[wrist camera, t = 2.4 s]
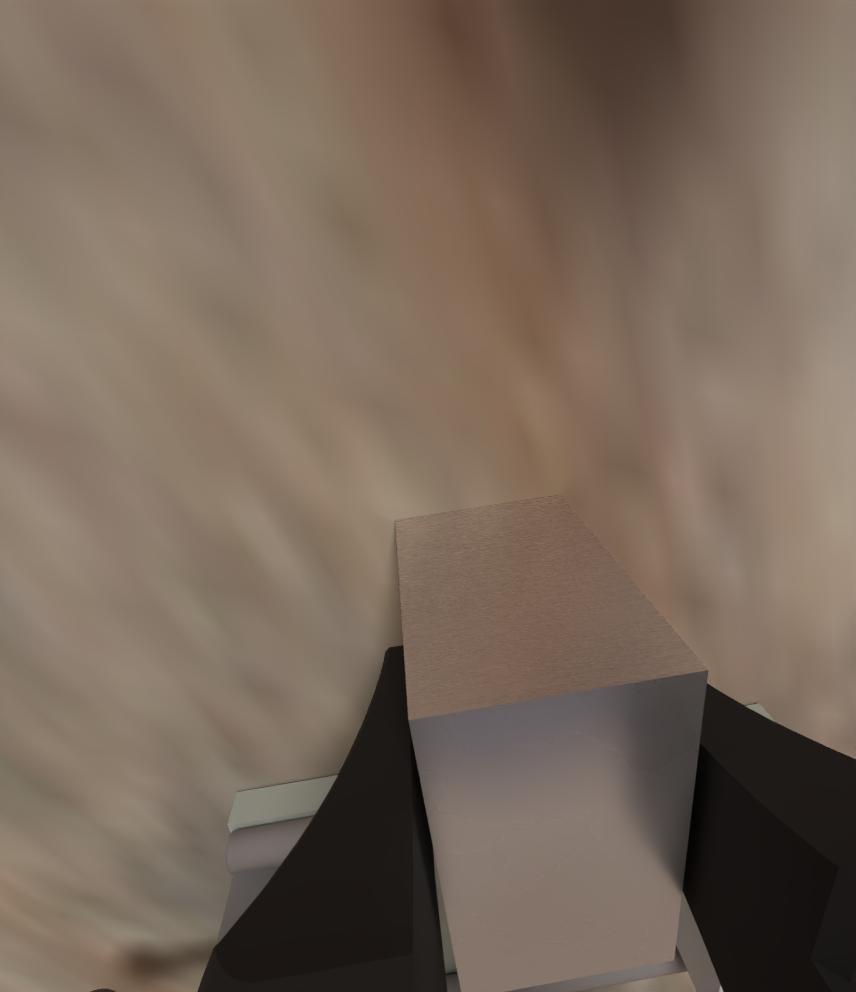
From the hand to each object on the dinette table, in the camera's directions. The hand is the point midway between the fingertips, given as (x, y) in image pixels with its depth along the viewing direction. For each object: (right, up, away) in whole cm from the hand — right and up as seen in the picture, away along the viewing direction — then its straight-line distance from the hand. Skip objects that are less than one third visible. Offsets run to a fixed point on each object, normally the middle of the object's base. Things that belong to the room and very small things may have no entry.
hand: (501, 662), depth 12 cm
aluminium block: (0, +1, +1) cm, 1 cm away
